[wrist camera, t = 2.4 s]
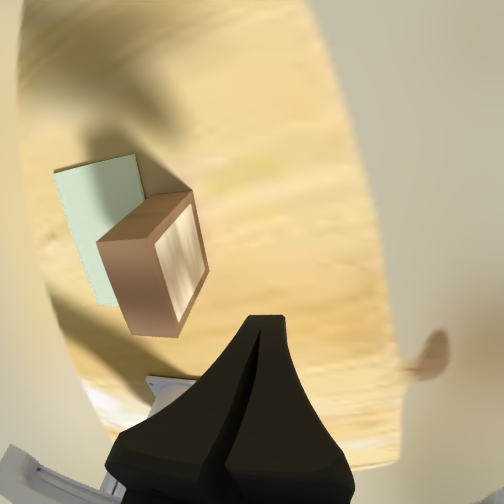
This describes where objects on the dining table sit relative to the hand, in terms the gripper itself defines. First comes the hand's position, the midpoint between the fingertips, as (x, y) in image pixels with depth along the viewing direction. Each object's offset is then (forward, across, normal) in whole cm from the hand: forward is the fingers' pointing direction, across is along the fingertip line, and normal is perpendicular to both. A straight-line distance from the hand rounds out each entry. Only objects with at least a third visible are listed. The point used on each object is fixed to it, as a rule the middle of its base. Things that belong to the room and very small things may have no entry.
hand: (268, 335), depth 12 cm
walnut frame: (+10, +7, 0) cm, 12 cm away
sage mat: (+10, +13, 0) cm, 16 cm away
